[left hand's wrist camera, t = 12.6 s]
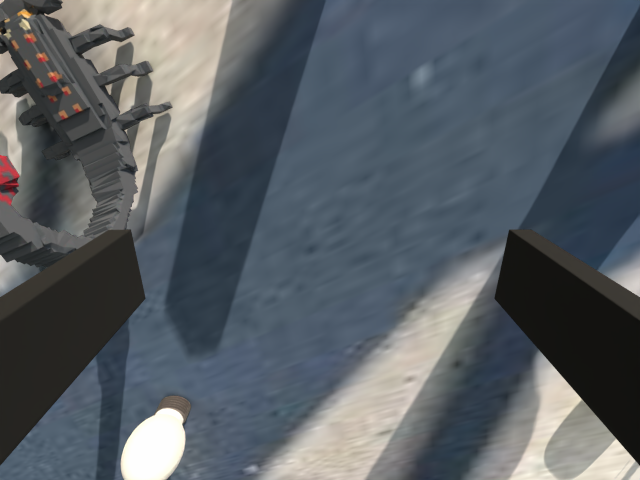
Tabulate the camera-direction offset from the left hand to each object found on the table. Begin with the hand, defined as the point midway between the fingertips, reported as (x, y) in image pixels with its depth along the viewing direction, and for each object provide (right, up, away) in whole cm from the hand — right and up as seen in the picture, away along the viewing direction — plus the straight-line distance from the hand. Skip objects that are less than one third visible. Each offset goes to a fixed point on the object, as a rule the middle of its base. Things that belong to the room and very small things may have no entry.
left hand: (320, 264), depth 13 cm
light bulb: (-20, -22, +37) cm, 47 cm away
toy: (-22, +16, +21) cm, 35 cm away
